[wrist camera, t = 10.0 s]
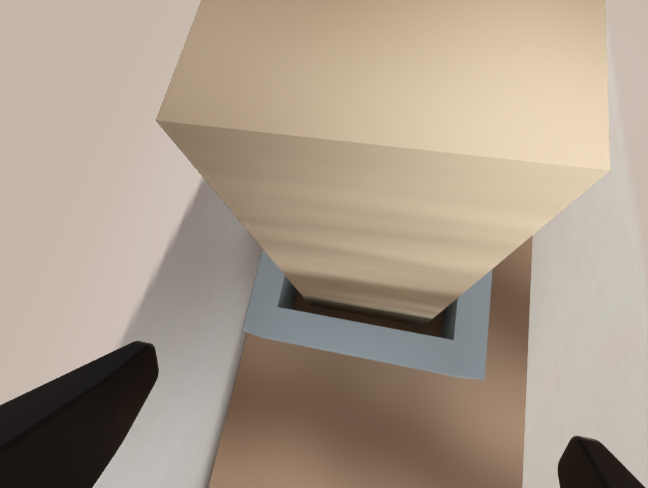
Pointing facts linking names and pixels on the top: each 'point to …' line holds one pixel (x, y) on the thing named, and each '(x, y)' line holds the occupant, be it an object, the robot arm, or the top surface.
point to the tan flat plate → (381, 408)
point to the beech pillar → (393, 135)
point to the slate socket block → (375, 328)
